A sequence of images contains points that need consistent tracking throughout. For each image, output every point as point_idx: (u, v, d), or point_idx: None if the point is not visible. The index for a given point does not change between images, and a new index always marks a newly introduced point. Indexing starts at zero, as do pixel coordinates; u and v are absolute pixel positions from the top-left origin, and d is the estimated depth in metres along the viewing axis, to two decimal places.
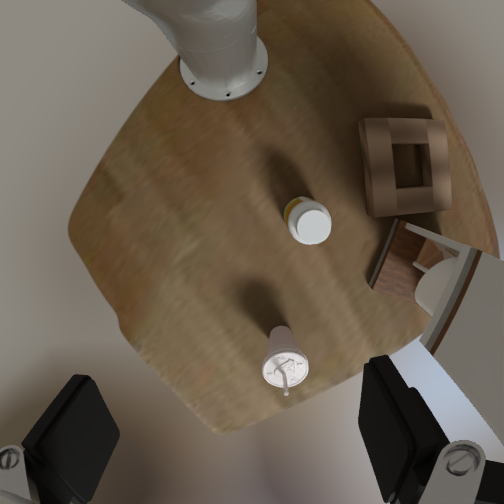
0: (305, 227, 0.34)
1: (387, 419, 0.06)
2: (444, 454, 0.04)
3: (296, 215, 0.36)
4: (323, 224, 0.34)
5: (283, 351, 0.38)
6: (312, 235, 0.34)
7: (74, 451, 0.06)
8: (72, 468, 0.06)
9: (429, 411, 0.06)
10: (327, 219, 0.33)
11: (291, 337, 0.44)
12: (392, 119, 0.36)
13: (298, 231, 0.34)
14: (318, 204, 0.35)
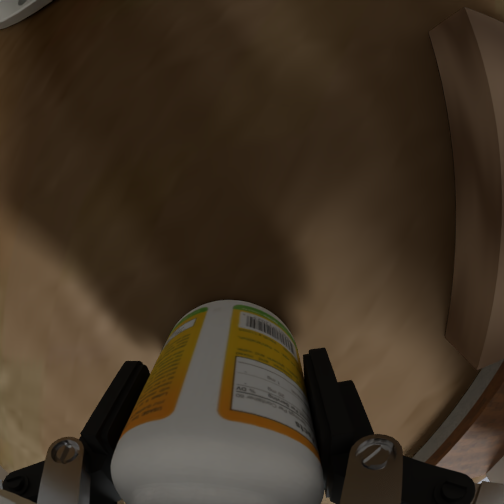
0: None
1: (314, 407, 0.07)
2: (359, 445, 0.05)
3: (128, 488, 0.05)
4: None
5: None
6: None
7: None
8: None
9: (360, 404, 0.07)
10: None
11: None
12: None
13: None
14: (252, 461, 0.05)
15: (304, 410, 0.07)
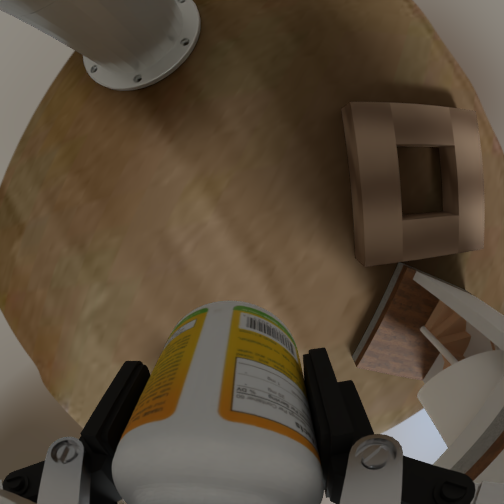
0: None
1: (314, 407, 0.07)
2: (359, 445, 0.05)
3: (130, 489, 0.05)
4: None
5: None
6: None
7: None
8: None
9: (360, 404, 0.07)
10: None
11: None
12: (397, 105, 0.21)
13: None
14: (253, 461, 0.05)
15: (304, 411, 0.07)
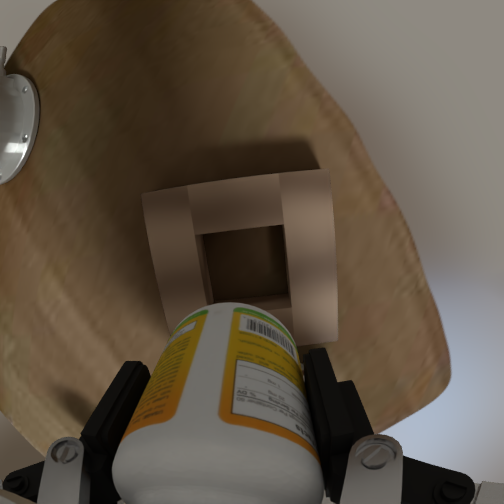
0: None
1: (314, 407, 0.07)
2: (359, 445, 0.05)
3: (130, 491, 0.05)
4: None
5: None
6: None
7: None
8: None
9: (360, 404, 0.07)
10: None
11: None
12: (196, 187, 0.21)
13: None
14: (253, 464, 0.05)
15: (304, 413, 0.07)
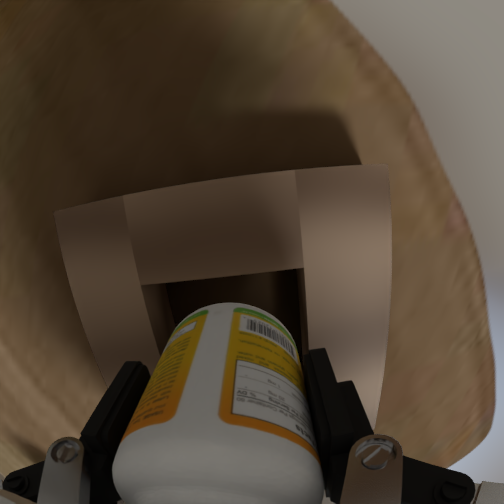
0: None
1: (314, 407, 0.07)
2: (359, 445, 0.05)
3: (130, 491, 0.05)
4: None
5: None
6: None
7: None
8: None
9: (360, 404, 0.07)
10: None
11: None
12: (139, 198, 0.11)
13: None
14: (253, 464, 0.05)
15: (304, 413, 0.07)
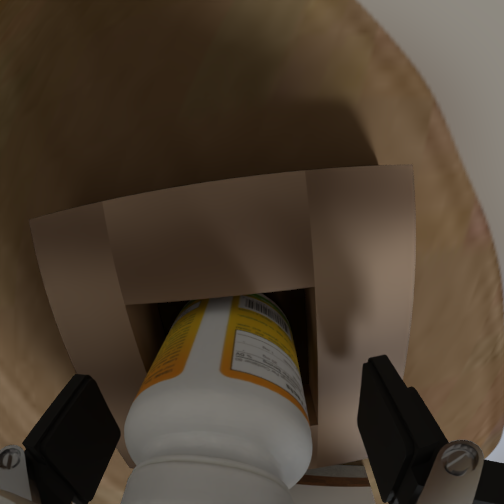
0: None
1: (385, 419, 0.06)
2: (442, 454, 0.04)
3: (140, 444, 0.06)
4: None
5: None
6: None
7: (75, 451, 0.06)
8: (73, 468, 0.06)
9: (427, 411, 0.06)
10: None
11: None
12: (121, 204, 0.09)
13: None
14: (248, 411, 0.06)
15: (295, 378, 0.08)
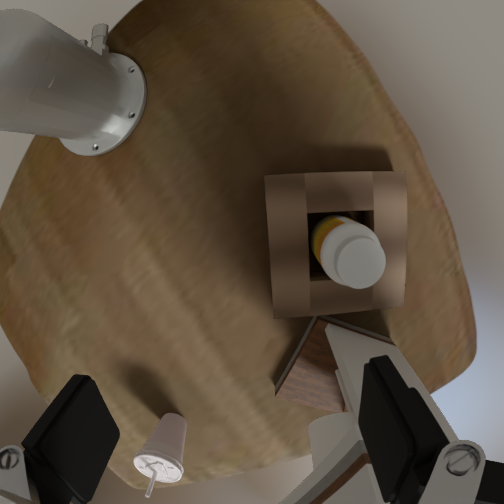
0: (349, 264, 0.22)
1: (387, 419, 0.06)
2: (444, 454, 0.04)
3: (335, 243, 0.24)
4: (375, 261, 0.22)
5: (150, 453, 0.28)
6: (358, 276, 0.22)
7: (74, 451, 0.06)
8: (72, 468, 0.06)
9: (429, 411, 0.06)
10: (382, 253, 0.21)
11: (174, 432, 0.34)
12: (312, 175, 0.27)
13: (338, 270, 0.22)
14: (367, 229, 0.23)
15: None
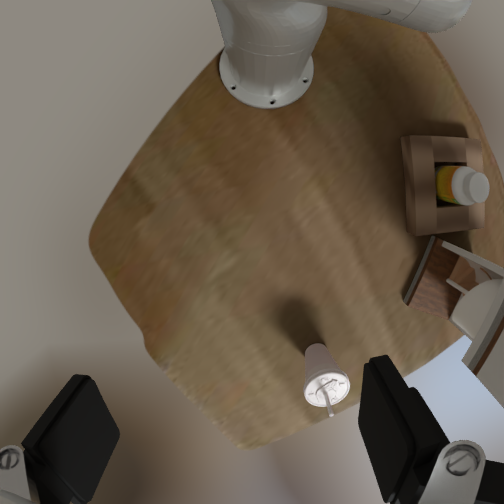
0: (474, 187, 0.29)
1: (387, 419, 0.06)
2: (444, 454, 0.04)
3: (461, 177, 0.31)
4: (485, 186, 0.29)
5: (327, 372, 0.36)
6: (478, 195, 0.30)
7: (74, 451, 0.06)
8: (72, 468, 0.06)
9: (429, 411, 0.06)
10: (487, 182, 0.29)
11: (330, 355, 0.42)
12: (435, 137, 0.34)
13: (470, 190, 0.30)
14: (474, 170, 0.31)
15: None
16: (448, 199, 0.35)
